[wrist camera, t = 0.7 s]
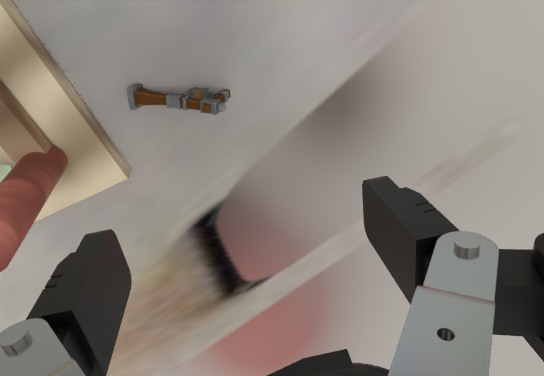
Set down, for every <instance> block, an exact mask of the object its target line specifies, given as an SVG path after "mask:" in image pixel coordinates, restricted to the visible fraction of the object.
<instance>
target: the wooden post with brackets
mask: <svg viewBox="0 0 544 376" xmlns="http://www.w3.org/2000/svg"><path fill="white" fill-rule="evenodd" d="M127 93H128V100H129V106H130V110H136V109H137V108H139V107H141V106H142V105H167V107H172V108H177V109H181V108H183V110H187V109H195V110H201V113H210V114H214V115H217V114H218V113H219V112H223V111H225V109H226V106H225V104H224V103H225V102H226V101H228V99H229V98H230V90H224V91H220V92H219V93H217V94H215V95H214V93H213V92H210V93H209V90H208V87H207V88H206V89H199V88H194V89H192V90H189V91H188V94H187V95H186V96H184V94H174V93H170V94H163V93H158V92H154V91H149V90H146V89H143V84H138V83H137V84H135V85H133V86H131V87H129V88H127ZM216 95H217V96H216Z"/></svg>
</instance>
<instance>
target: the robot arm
mask: <svg viewBox="0 0 544 376" xmlns="http://www.w3.org/2000/svg"><path fill="white" fill-rule="evenodd" d="M362 191H363V192H362V193H363V213H364V226H365V231H366V234H367V237H368V239H369V241H370V242H371V244H372V245H373V247H374V249H375V250H376V252H377V253H378V255H379V256H380V258H381V259H382V261H383V262H384V264H385V265H386V267H387V269H388V270H389V272H390V273H391V275H392V277H393V278H394V280H395V281H396V283H397V284H398V286H399V287H400V289H401V291H402V292H403V294H404V295H405V297H406V298H407V300H408V301H409V303H410V305H411V306H410V309H409V312H408V315H407V318H406V321H405V324H404V327H403V330H402V333H401V336H400V339H399V343H398V346H397V349H396V352H395V355H394V358H393V361H392V364H391V367H390V370H388V369H385V368H382V367H378V366H374V365H369V364H362V363H352V361H351V359H350V356H349V353H348V351H347V349H344V350H340V351H335V352H331V353H326V354H321V355H317V356H312V357H308V358H303V359H301V360H299V361H297V362H295V363H293V364H291V365H289V366H286V367H284V368H282V369H280V370H278V371H276V372H274V373H272V374H270V375H267V376H489V367H490V356H491V345H492V334H495V335H511V336H523V337H524V338H525V340H526V341H527V342H528V343H529V344H530V346H531V347H532V348H533V349H534V351H535V352H536V353H537V354H538V355H539V357H540V358H541V359H542V360H543V361H544V233H543V234H540V235H539V236H537V238H536V239H535V242H534V247H533V250H514V249H498V247H497V245H496V244H495V243H494V242H493V241H492V240H490V239H489V238H487V237H485V236H483V235H480V234H477V233H473V232H466V231H459V230H458V229H457V228H456V227H455V226H454V225H453V224H452V223H451V222H450V221H449V220H448V219H447V218H446V217H445V216H443V215H442V214H441V213H440V212H439V211H438V210H436V208H435V207H434V206H433V205H432V204H431V203H430V204H429V201H428V200H427V199H426V198H424V197H423V196H422V195H421V194H420V193H418V192H416V191H414V190H411V189H409V188H407V187H405V188H399V187H398V186H397V185H396V184H395V183H394V182H393V181H392V180H391V179H390V178H389V177H388V176H383V177H379V178H373V179H368V180H364V181H363V184H362ZM130 290H131V274H130V270H129V267H128V264H127V262H126V259H125V257H124V254H123V252H122V249H121V247H120V244H119V242H118V239H117V236H116V234H115V233H114V231H113V230H105V231H100V232H95V233H90V234H86V235H85V236H84V237H83V239H82V241H81V243H80V245H79V247H78V249H77V250H76V252H74V253H70V254H69V255H68V256H67V257H66V258H65V259H64V260H63V261H62V262H60V263H59V264H58V265H57V267H56V269H55V270H54V272H53V274H52V276H51V279H49V281H48V282H47V284H46V286H45V289H43V291H42V293H41V294H40V296H39V298H38V300H37V301H36V303H35V305H34V306H33V308H32V310H31V312H30V313H29V315H28V317H27V318H26V320H24V321H21V322H18V323H16V324H14V325H12V326H10V327H8V328H7V329H5V330H4V331H2V332H1V333H0V376H106V374H107V371H108V367H109V364H110V360H111V357H112V353H113V350H114V346H115V343H116V339H117V336H118V332H119V329H120V325H121V322H122V318H123V315H124V311H125V307H126V304H127V300H128V297H129V293H130Z"/></svg>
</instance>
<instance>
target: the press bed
mask: <svg viewBox="0 0 544 376" xmlns="http://www.w3.org/2000/svg"><path fill="white" fill-rule="evenodd" d="M0 81H1V83H2V84H3V85H4V86H5V88H6V89H7V90H8V91H9V93H10V94H11V95H12V96H13V97H14V99H15V100H16V101H17V102H18V104H19V105H20V106H21V107H22V109H23V110H24V111H25V112H26V113H27V115H28V116H29V117H30V118H31V120H32V121H33V122H34V123H35V125H36V126H37V127H38V128H39V129H40V131H41V132H42V133H43V134H44V136H45V137H46V138H47V139H48V141H49V142H50V143H51V144H52V145H53V146H55V147H57V148H58V149H60V150H61V151H62V152H63V154H64V155H65V157H66V160H67V166H66V169H65V171H64V172H63V174H62V176H61V177H60V179H59V181H58V182H57V184H56V186H55V187H54V189H53V191H52V192H51V194H50V196H49V198H48V199H47V201H46V203H45V204H44V206H43V208H42V209H41V211H40V213H39V214H38V216H37V218H36V219H35V221H34V222H36V221H38V220H40V219H42V218H44V217H47V216H49V215H51V214H53V213H55V212H57V211H60V210H62V209H64V208H66V207H68V206H70V205H73V204H75V203H77V202H79V201H81V200H83V199H86V198H88V197H90V196H92V195H94V194H96V193H99V192H101V191H103V190H105V189H107V188H109V187H112V186H114V185H116V184H118V183H120V182H122V181H125V180H127V179H128V177H129V173H130V170H131V168H130V167H129V165H128V164H127V163H126V161H125V160H124V158H123V157H122V156H121V154H120V153H119V151H118V150H117V149H116V147H115V146H114V144H113V143H112V142H111V140H110V139H109V137H108V136H107V134H106V133H105V132H104V130H103V129H102V127H101V126H100V125H99V123H98V122H97V120H96V119H95V118H94V116H93V115H92V113H91V112H90V111H89V109H88V108H87V106H86V105H85V104H84V102H83V101H82V99H81V98H80V97H79V95H78V94H77V92H76V91H75V89H74V88H73V87H72V85H71V84H70V82H69V81H68V80H67V78H66V77H65V75H64V74H63V73H62V71H61V70H60V68H59V67H58V66H57V64H56V63H55V61H54V60H53V59H52V57H51V56H50V54H49V53H48V52H47V50H46V49H45V47H44V46H43V44H42V43H41V42H40V40H39V39H38V37H37V36H36V35H35V33H34V32H33V30H32V29H31V28H30V26H29V25H28V23H27V22H26V21H25V19H24V18H23V16H22V15H21V14H20V12H19V11H18V9H17V8H16V6H15V5H14V4H13V2H12V1H11V0H0ZM15 165H16V163H15V162H14V161H13V160H12V159H11V158H10V157H9V155H8V154H7V153H6V152H5V151H4V150H3V149H2V148H1V147H0V183H1V181H2V180H3V179H4V178H5V177H6V176H7V174H8V173H9V172H10V171H11V170H12V169H13V167H14V166H15Z"/></svg>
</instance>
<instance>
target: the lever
mask: <svg viewBox="0 0 544 376" xmlns="http://www.w3.org/2000/svg"><path fill="white" fill-rule="evenodd" d="M0 147H1V148H2V149H3V150H4V151H5V152H6V153H7V154H8V155H9V157H10V158H11V159H12V160H13V161H14V162H15V163H16V165H15V166H14V167H13V169H12V170H11V171H10V172H9V173H8V174H7V176H6V177H5V178H4V179H3V180H2V181H1V183H0V272H1V271H3V270H4V269H5V268H7V266H8V265H9V263H10V261H11V260H12V258H13V256H14V255H15V253H16V251H17V250H18V248H19V246H20V245H21V243H22V241H23V240H24V238H25V236H26V234H27V233H28V231H29V229H30V228H31V226H32V224H33V223H34V221H35V219H36V218H37V216H38V214H39V213H40V211H41V209H42V208H43V206H44V204H45V203H46V201H47V199H48V198H49V196H50V194H51V192H52V191H53V189H54V187H55V186H56V184H57V182H58V181H59V179H60V177H61V176H62V174H63V172H64V171H65V169H66V166H67V160H66V157H65V155H64V154H63V152H62V151H61V150H60V149H58V148H57V147H55V146H53V145H52V144H51V143H50V142H49V141H48V139H47V138H46V137H45V136H44V134H43V133H42V132H41V131H40V129H39V128H38V127H37V126H36V125H35V123H34V122H33V121H32V120H31V118H30V117H29V116H28V115H27V113H26V112H25V111H24V110H23V109H22V107H21V106H20V105H19V104H18V102H17V101H16V100H15V99H14V97H13V96H12V95H11V94H10V93H9V91H8V90H7V89H6V88H5V86H4V85H3V84H2V83H1V81H0Z"/></svg>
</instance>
